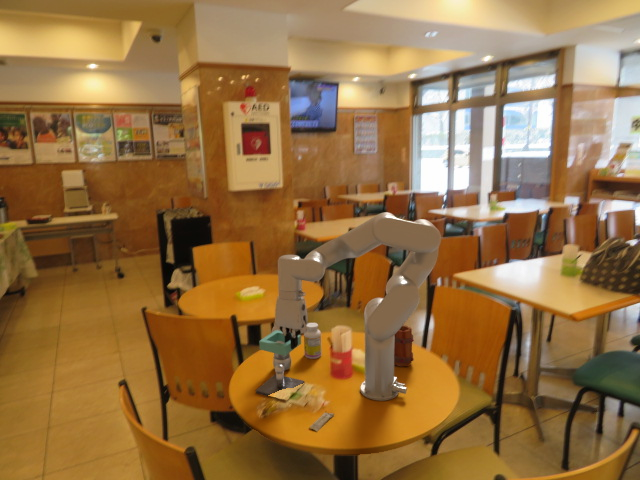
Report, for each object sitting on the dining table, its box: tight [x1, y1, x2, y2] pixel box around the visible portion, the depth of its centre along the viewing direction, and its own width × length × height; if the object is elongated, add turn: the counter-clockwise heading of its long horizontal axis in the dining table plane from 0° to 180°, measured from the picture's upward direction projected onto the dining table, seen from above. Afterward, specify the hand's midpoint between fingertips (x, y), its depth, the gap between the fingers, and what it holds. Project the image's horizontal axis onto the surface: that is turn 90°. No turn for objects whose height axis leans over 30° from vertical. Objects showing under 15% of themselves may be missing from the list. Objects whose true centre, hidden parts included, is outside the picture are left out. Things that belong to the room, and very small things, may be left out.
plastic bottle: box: [270, 321, 292, 371], centre depth 160 cm, size 6×7×20 cm
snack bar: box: [308, 411, 335, 433], centre depth 129 cm, size 10×2×3 cm
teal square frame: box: [258, 330, 302, 356], centre depth 146 cm, size 10×10×3 cm
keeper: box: [255, 364, 305, 397], centre depth 147 cm, size 12×12×9 cm
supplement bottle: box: [303, 322, 322, 360], centre depth 170 cm, size 7×7×13 cm
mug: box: [394, 324, 415, 367], centre depth 163 cm, size 15×8×15 cm, turn 49°
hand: (291, 346), depth 144 cm, fingers closed on teal square frame, 1 cm apart
